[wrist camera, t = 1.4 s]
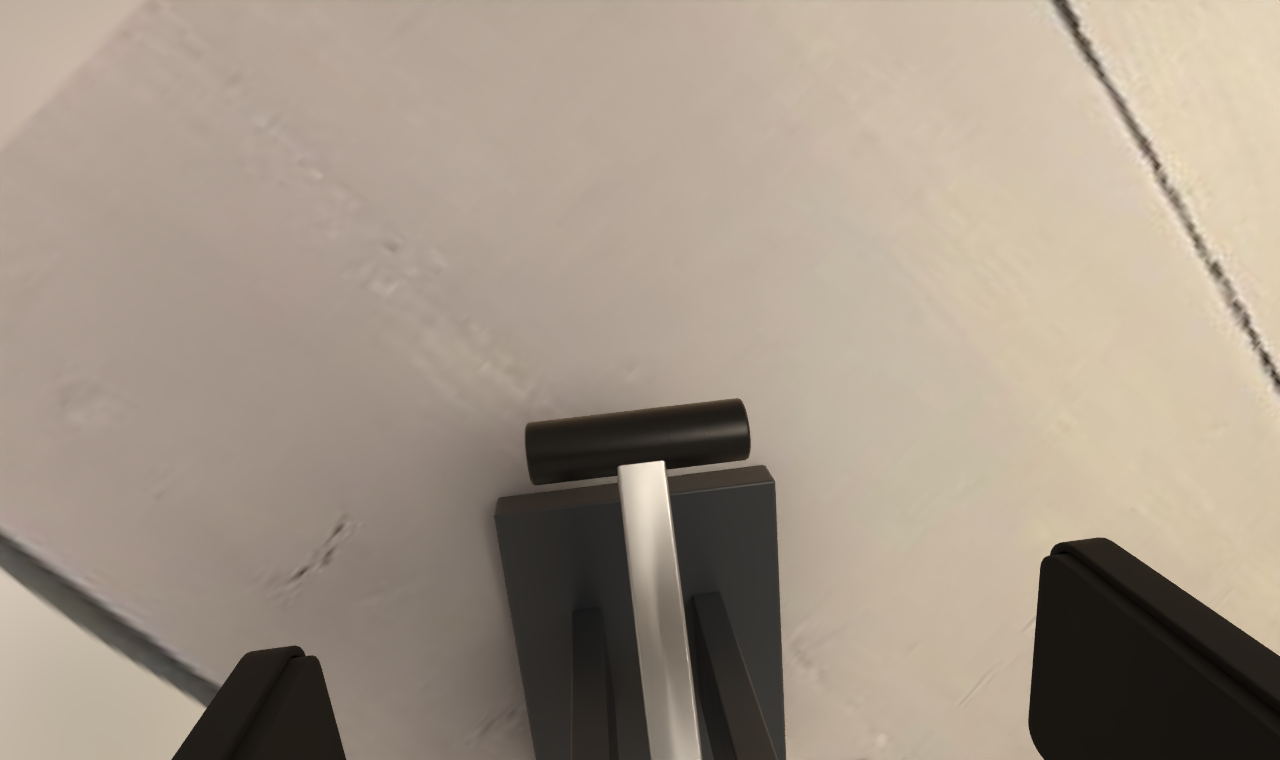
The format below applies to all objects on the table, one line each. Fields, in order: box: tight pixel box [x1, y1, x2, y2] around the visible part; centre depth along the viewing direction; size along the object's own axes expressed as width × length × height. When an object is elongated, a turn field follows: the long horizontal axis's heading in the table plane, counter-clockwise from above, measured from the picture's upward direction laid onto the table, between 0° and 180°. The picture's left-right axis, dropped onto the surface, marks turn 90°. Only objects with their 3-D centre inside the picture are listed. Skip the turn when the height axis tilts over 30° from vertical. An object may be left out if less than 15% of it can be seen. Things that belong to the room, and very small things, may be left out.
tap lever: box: [525, 398, 751, 760], centre depth 16 cm, size 13×5×2 cm, turn 5°
